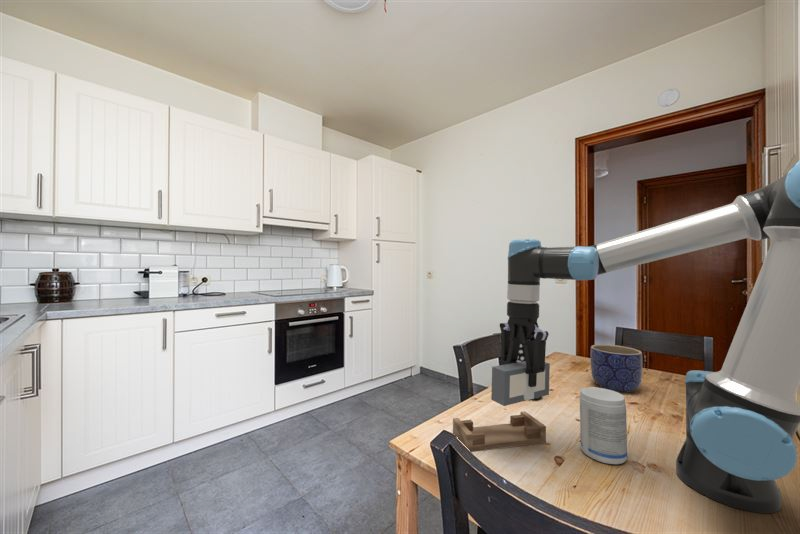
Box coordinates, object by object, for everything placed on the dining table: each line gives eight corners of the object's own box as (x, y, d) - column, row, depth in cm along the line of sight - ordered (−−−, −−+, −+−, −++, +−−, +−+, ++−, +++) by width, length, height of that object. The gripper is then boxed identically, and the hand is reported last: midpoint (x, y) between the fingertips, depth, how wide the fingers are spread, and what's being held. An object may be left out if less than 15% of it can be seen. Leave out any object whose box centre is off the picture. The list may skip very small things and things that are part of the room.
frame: (549, 394, 81) (549, 363, 81) (504, 406, 74) (504, 371, 74) (535, 389, 85) (536, 359, 85) (491, 399, 77) (492, 366, 77)
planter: (654, 396, 114) (653, 354, 115) (607, 395, 114) (607, 354, 115) (622, 380, 131) (622, 344, 131) (582, 380, 131) (581, 343, 131)
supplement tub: (637, 463, 74) (637, 399, 74) (603, 469, 71) (603, 403, 72) (602, 441, 83) (601, 385, 83) (570, 446, 81) (570, 387, 81)
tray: (545, 442, 82) (546, 426, 82) (466, 452, 78) (466, 434, 78) (525, 426, 91) (525, 411, 91) (452, 433, 86) (453, 418, 86)
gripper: (564, 305, 73) (562, 406, 73) (508, 298, 89) (506, 381, 89) (541, 306, 70) (539, 412, 70) (487, 298, 86) (485, 385, 85)
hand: (520, 395), depth 79 cm, fingers closed on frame, 4 cm apart
